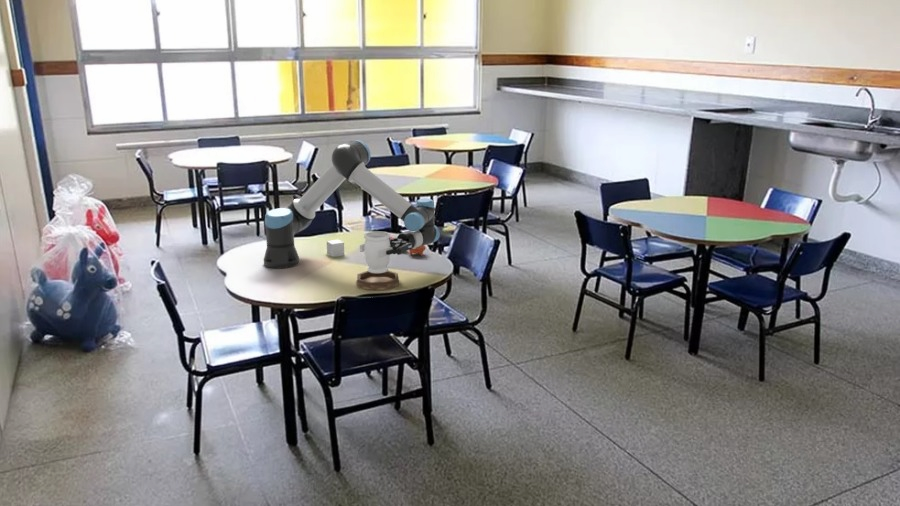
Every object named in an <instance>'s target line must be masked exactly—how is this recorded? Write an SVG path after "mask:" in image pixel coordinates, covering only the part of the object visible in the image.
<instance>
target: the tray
mask: <svg viewBox="0 0 900 506" xmlns="http://www.w3.org/2000/svg"><path fill="white" fill-rule="evenodd" d="M356 276H357V277H356V283H355V284H356V286H357V287H359V288H361V289H363V290H367V291H386V290H390V289H393V288H396V287H397V286H399V284H400V279H399V278H400V277H399V273H398V272H396V271H391V270H388V271H387V272H384V273H370V272H368V270H365V271H362V272H359V273H357V274H356Z"/></svg>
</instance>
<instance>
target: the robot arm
mask: <svg viewBox="0 0 900 506" xmlns="http://www.w3.org/2000/svg"><path fill="white" fill-rule="evenodd" d="M370 160H371V150H370V148H369V146H368V144H367V143H366V142H364V141H362V140H357V139H356V140H355V139H354V140H353V139H352V140H350V141H349V142H346V143H342V144H339V145H337V146H335V148H334V150H333V151H332V153H331V162H332V163H331V164H330V165H329V166H328V167H327V168H326V170H325V171H324V172H323V173H322V174H321V175H320V176H319V178H318V179H316V181H315V182H314V183H313V184H312V185H311V186H310V187H309V189H308V190H306V192H305V193H304V194H303V195H302V196H301V197H300V198H294V200H292V202H291V203H290V204H289V205H288V206H287V207H278V208H277V207H276V208H272V209H270V210H269V211H267V212H266V214H265V215H264V225H265V226H264V227H265V239H266V241H265V242H266V249H265V253H264V258H263V266H265V267H267V268H270V269H288V268H293V267H295V266H297V265H299V264H300V256H299V253H298V251H297V248H296V246H295V235H296V234H298V233H300V232H302V231H304V230H306V229H307V228H308V227H309V226H310V225H311V224H312V221H313V220H314V219H315V217H316V211H317V210H318V209H319V208H320V207H321V206H322V205H323V204H324V203H325V202H326V201H327V200H328V198H329V197H330V196H332V194H333V193H334V192H335V191H336V190H337V189H338V187H340V186H341V184H342V183H343V182H345V180H347V181H348V182H353V183H355V184H356V185H358V186H359V187H360V188H361V189H362V190H364V191H365V192H366V193H368V194H369V195H370V196H371V197H373V198H374V199H375V200H376V201H378V202H379V203H380V204H381V205H383V206H384V207H385V208H386V209H388V210H389V211H390V212H391V213H393V214H394V215H395V216H396V217H397V218H399V219H400V220H401V221H402V222H403V224H404V227H405V228H406V229H407V230H408V231H404V232H400V233H399V234H398V235H397V237H392V238H393V239H390V238H389V241H390V245H391V246H390V248H386V249H383V250H379V258H381V257H384V256H387V255H390V256H391V255H398V256H400V255H402V254H403V253H406V252H407V251H409V250H410V249H412V248H414V249H415V248H416V247H419V246H423V245H424V246H426V245H430V244H433V243H435V242H437V241H438V240H439V239H440V237H441V233H440V231H439V227H438V226H437V225H435V202H434V200H433V199H431V198H420V199H417V201H416V205H413V204H412V203H411V202H410V201H408V200H407V199H406V198H405V197H403V196H402V195H401V194H399V193H398V192H397V191H395V189H393V188H392V187H391V186H389V184H387V183H386V182H384V181H383V180H382V179H381V178H380V177H379V176H377V175H376V174H375V173H373V172H372V171H371V170H369V168H367V167H366V166H367V165H368V163H369V162H370ZM364 245H365V243H363V244H360V245H359V253H363V252H365V251H364ZM392 247H393V249H392Z"/></svg>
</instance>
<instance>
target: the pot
mask: <svg viewBox="0 0 900 506" xmlns="http://www.w3.org/2000/svg"><path fill="white" fill-rule="evenodd" d="M408 251H409V254H410V255H409V256H412V255H413V254H414V255H418V254H420V256H421V257H422V256H423V253H424V251H426V245H423V246H419V247H416V248H415V249H414V248H412V249H410V250H408Z"/></svg>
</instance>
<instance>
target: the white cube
mask: <svg viewBox="0 0 900 506" xmlns="http://www.w3.org/2000/svg"><path fill="white" fill-rule="evenodd" d="M326 254H328V256H330V257H339V256H340V257H341V256H345V242H344V241H343V240H341V239H332V240H326Z"/></svg>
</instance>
